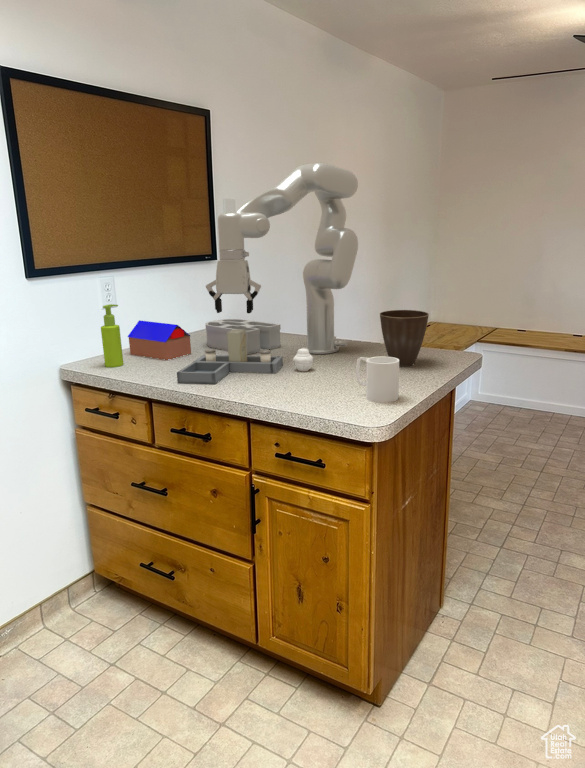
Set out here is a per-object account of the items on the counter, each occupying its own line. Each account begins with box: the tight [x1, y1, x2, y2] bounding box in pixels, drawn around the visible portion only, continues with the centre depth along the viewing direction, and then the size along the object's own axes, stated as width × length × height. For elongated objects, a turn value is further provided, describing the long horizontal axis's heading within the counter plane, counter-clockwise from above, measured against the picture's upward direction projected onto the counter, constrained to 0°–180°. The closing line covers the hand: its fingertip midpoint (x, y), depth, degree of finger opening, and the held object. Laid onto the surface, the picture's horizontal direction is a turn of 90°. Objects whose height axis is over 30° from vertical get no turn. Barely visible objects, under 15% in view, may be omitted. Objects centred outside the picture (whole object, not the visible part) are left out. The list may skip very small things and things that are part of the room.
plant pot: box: [379, 309, 430, 367], centre depth 184 cm, size 15×15×16 cm
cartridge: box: [259, 348, 272, 363], centre depth 184 cm, size 3×3×6 cm
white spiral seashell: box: [292, 347, 314, 372], centre depth 181 cm, size 6×6×7 cm
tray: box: [176, 361, 231, 385], centre depth 176 cm, size 12×14×3 cm
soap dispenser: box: [100, 303, 124, 368], centre depth 193 cm, size 6×7×20 cm
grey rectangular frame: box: [192, 354, 284, 374], centre depth 186 cm, size 27×10×3 cm, turn 78°
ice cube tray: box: [204, 318, 281, 355], centre depth 219 cm, size 17×28×9 cm, turn 48°
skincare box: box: [227, 329, 248, 362], centre depth 185 cm, size 6×4×12 cm
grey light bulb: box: [204, 347, 217, 361], centre depth 188 cm, size 3×3×6 cm
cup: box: [355, 355, 400, 404], centre depth 152 cm, size 8×12×10 cm
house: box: [127, 320, 192, 361], centre depth 209 cm, size 12×20×12 cm, turn 54°
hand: (234, 312), depth 181 cm, fingers open, 9 cm apart
